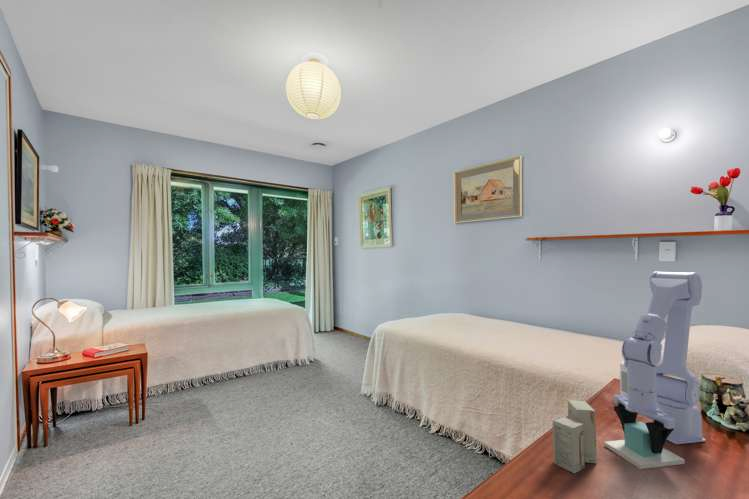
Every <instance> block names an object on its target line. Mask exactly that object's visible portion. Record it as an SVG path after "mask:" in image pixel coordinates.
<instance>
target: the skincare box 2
mask: <svg viewBox="0 0 749 499" xmlns="http://www.w3.org/2000/svg"><path fill="white" fill-rule="evenodd" d="M567 418H569V419H572V420H574V421H577V422H579V423H582V424H583V434H584V461H585V463H588V464H590V463H591V464H598V459H597V458H598V457H597V429H596V428H597V426H596V425H597V423H596V410H595V408H593V406H591V405H590V403H588V402H587V401H586V400H585V401H584V400H574V399H573V400H571V399H570V400H569V399H568V400H567Z"/></svg>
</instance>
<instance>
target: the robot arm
mask: <svg viewBox="0 0 749 499" xmlns="http://www.w3.org/2000/svg"><path fill="white" fill-rule="evenodd" d="M649 288H650V292H651V293H652V298H651V300H650V304H649V306H648V310H647V314H642V315H641V316H640V317H639V319H638V321H637V324H636V325H635V327H634V330H633V333H632V334H631V337H629V338H626V339H624V341H623V343H622V346H621V354H622V355H621V356H622V358H623V361H624V365H625V367H627V388H628V397H625V396H622V395H620V394H614V395H613V403H614V404H616V405H615V406H614V407H613V410H614V412H615V413H616V415H617V417H618V419H619V422H620V424H621V427H622V429H623V434H624V435H625V433H624V424H626V423H635V422H637V417H638V415H639V414H640V415H642V416H643V417H646V418H648V419H650V420H652V421H648V422H645V424H646V426H647V428H648V431H649V435H650V443H651V451H652V453H654V454H658V453H662V450H663V448H665V445H666V444H665V443H666V442H667V441H669V442H670V443H673V445H682V444H683V445H684V444H694V443H701V442H702V443H704V442H707V439H706V438H704V437H703V416H702V413H701V411H700V409H699V408H698V406H697V405H698V404H699V401H700V398H701V396H700V395H701V391H700V381H699V378H698V377H697V376H696V374H694V373H693V372H692V371H690V369H688V368H687V359H688V350H689V349H688V348H689V340H690V329H691V328H690V327H691V319H692V311H693V307H696V306H699V305H700V304H701V301H702V292H703V282H702V279H701V276H700V275H699V274H698V273H697V272H693V271H692V272H677V271H675V272H674V271H673V272H672V271H658V270H656V271H655V270H654V271H653V272H652V273H651V274H650V277H649ZM666 317H667V318H666ZM665 319H666V321H665ZM664 336H665V338H664ZM663 339H664V347H663V344H662V341H663ZM662 350H663V356H662ZM661 359H662V363H660V362H661ZM659 363H660V364H659ZM675 377H676V378H675ZM679 378H681V379H679ZM683 379H684V380H683Z"/></svg>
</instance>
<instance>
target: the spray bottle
mask: <svg viewBox="0 0 749 499" xmlns="http://www.w3.org/2000/svg"><path fill="white" fill-rule="evenodd" d="M619 380H620V383H619V384H620V387H619V388H620V394H619V395H622V396H625V397H628V388H627V367H625V365H624V360H623V361H620V363H619Z"/></svg>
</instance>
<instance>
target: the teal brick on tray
mask: <svg viewBox="0 0 749 499" xmlns="http://www.w3.org/2000/svg"><path fill="white" fill-rule="evenodd" d="M624 433H625V434H624ZM623 434H624V440H625V446H626V447H627V448H629V449H631V450H632V451H634V452H636V453H637V454H639V455H641V456H642V457H648V456H656V455H661V453H658V454H654V453H652V451H651V443H650V435H649V431H648V428H647V426H646V422H645V423H644V422H643V421H636V422H635V423H626V424H624V431H623Z"/></svg>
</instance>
